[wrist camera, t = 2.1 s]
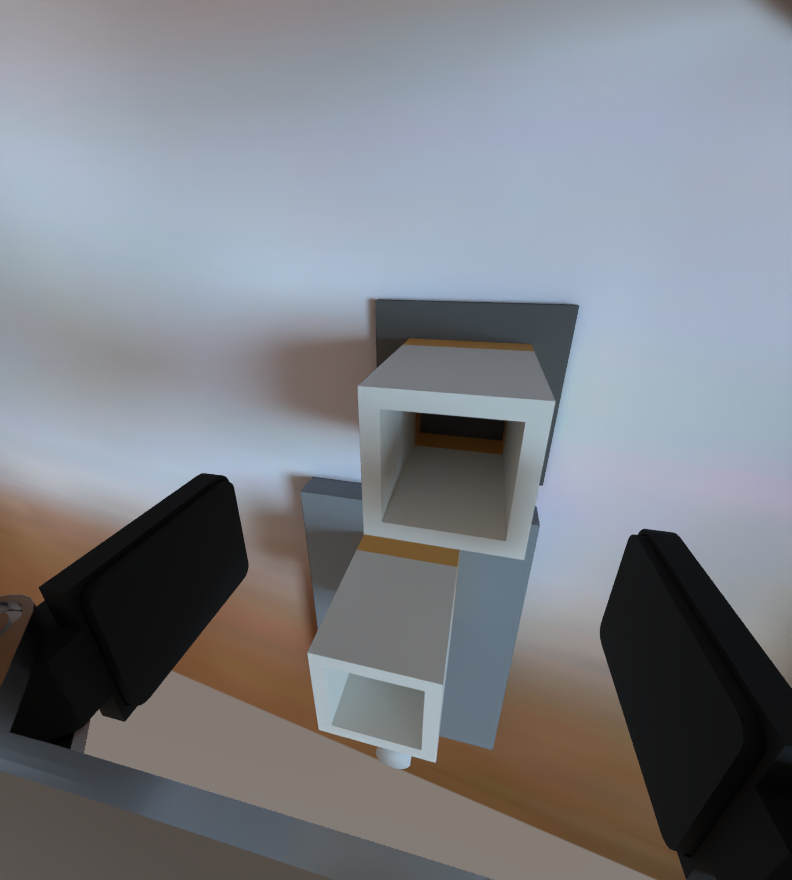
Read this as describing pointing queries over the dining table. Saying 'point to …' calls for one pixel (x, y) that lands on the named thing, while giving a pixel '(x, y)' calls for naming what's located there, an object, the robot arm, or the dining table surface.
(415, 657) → the seated sleeve
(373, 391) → the sleeve
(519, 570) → the pin board
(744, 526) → the dining table surface
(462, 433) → the mat
